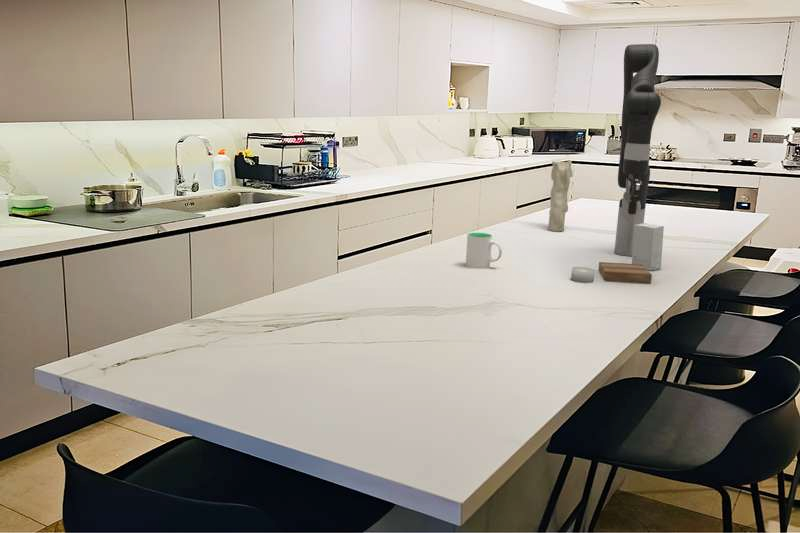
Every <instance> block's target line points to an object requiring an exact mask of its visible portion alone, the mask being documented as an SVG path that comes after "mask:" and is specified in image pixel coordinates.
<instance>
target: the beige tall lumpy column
mask: <svg viewBox="0 0 800 533" xmlns="http://www.w3.org/2000/svg"><path fill="white" fill-rule="evenodd" d="M551 164H552V169H551V173H550V175H551V176H550V177H551V180H552V183H553V184H552V187H551V189H550V190H551V191H550V208H549V209H550V210H549V217H548V218H549V219H548V228H547V229H548V230H549V231H550V232H551V231H552V232H557V233H558V232H564V231H565V219H566V213H568V211H569V206H568V204H569V203H568V191H569V187H570V183H571V178H572V177H573V170H572V164H573V163H572V159H571V160H567V161H552V162H551Z"/></svg>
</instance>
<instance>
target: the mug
mask: <svg viewBox="0 0 800 533" xmlns="http://www.w3.org/2000/svg"><path fill="white" fill-rule="evenodd" d="M466 238H467V239H466V254H465V266H466V267H468V268H473V269H488V268H490V266H491V263H493V262H494V263H495V262H498V261H499V260H500V259H501V257H502V253H503V249H502V245H501V244H500V242H498V241H495V240H493V239H492V238H493V235H492V234H491V233H487V232H486V233H484V232H469V233H468V232H467V237H466ZM492 245H496V246H497V247H498V256H497V258H495V259H494V258H493V257H492Z"/></svg>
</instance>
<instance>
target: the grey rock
mask: <svg viewBox="0 0 800 533" xmlns="http://www.w3.org/2000/svg"><path fill="white" fill-rule="evenodd" d="M631 192H632V191H631ZM629 197H630V195H629V194H628V191H626V190H625V191H624V192H623V195H622V198H623V200H622V208H621V214H622V216H623V218H624V219H625V220H626V221H631V220H632V219H633V218H634V217H635V216H636V215H637V213H638V212H639V211H640V209H641V204H640V201H638V202H637V206H636V214H629V213H628V209H629ZM633 197H636V195H634V196H633Z"/></svg>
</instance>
